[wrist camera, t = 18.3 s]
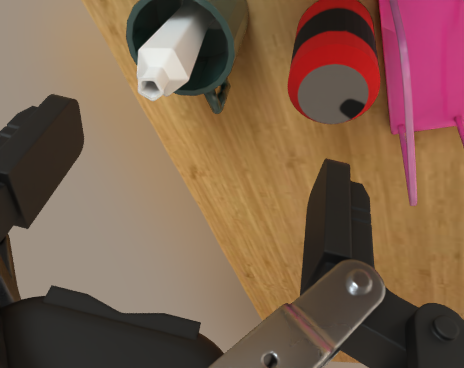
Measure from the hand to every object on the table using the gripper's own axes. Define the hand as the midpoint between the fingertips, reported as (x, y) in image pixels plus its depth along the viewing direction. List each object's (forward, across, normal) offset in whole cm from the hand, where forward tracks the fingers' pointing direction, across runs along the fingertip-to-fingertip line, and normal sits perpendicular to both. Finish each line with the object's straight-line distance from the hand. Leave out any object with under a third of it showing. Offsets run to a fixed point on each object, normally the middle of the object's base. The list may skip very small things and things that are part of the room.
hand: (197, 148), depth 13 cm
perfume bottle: (+32, +7, +10) cm, 34 cm away
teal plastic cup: (+32, +6, +11) cm, 35 cm away
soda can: (+32, -7, +9) cm, 34 cm away
